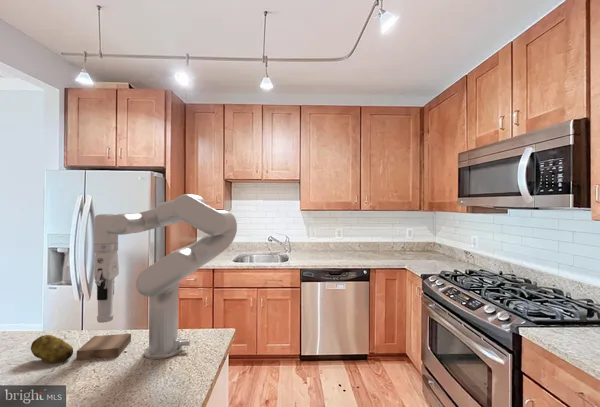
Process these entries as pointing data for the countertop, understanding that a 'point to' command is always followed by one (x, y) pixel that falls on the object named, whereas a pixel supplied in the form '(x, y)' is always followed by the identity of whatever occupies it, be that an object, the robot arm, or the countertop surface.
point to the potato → (51, 349)
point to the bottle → (106, 304)
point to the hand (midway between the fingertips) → (105, 297)
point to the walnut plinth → (104, 346)
